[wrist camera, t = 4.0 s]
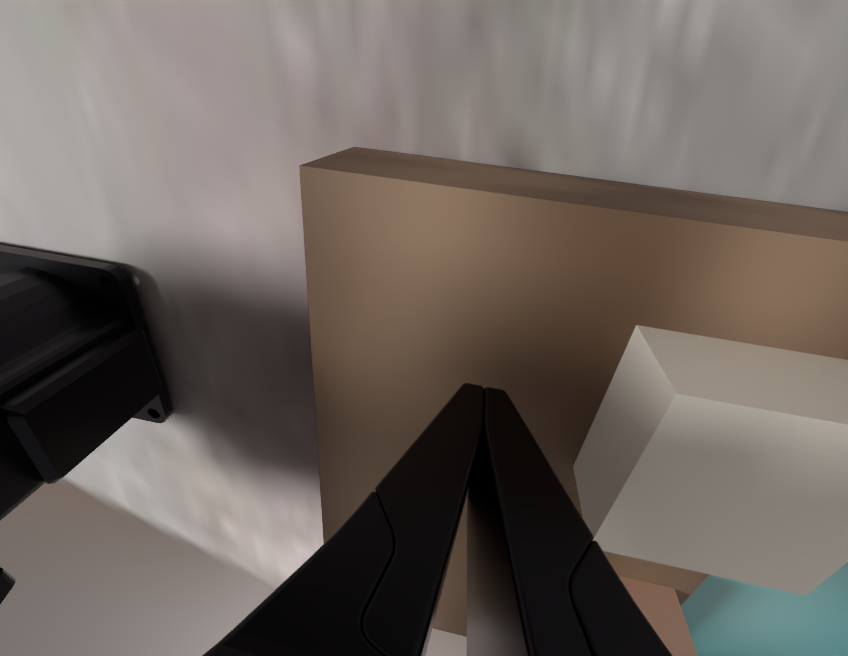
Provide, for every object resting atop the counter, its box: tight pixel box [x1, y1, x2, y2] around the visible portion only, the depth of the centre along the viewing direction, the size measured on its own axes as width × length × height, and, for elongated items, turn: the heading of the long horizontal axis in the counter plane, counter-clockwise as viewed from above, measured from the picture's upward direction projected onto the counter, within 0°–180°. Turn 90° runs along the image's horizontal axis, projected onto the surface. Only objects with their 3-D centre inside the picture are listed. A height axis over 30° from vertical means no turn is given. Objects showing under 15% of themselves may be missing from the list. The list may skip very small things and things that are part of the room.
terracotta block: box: [619, 576, 698, 656], centre depth 12 cm, size 4×4×2 cm
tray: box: [681, 562, 848, 656], centre depth 11 cm, size 7×16×3 cm, turn 174°
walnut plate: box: [300, 147, 848, 637], centre depth 12 cm, size 11×16×3 cm
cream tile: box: [573, 325, 848, 596], centre depth 7 cm, size 4×4×2 cm
